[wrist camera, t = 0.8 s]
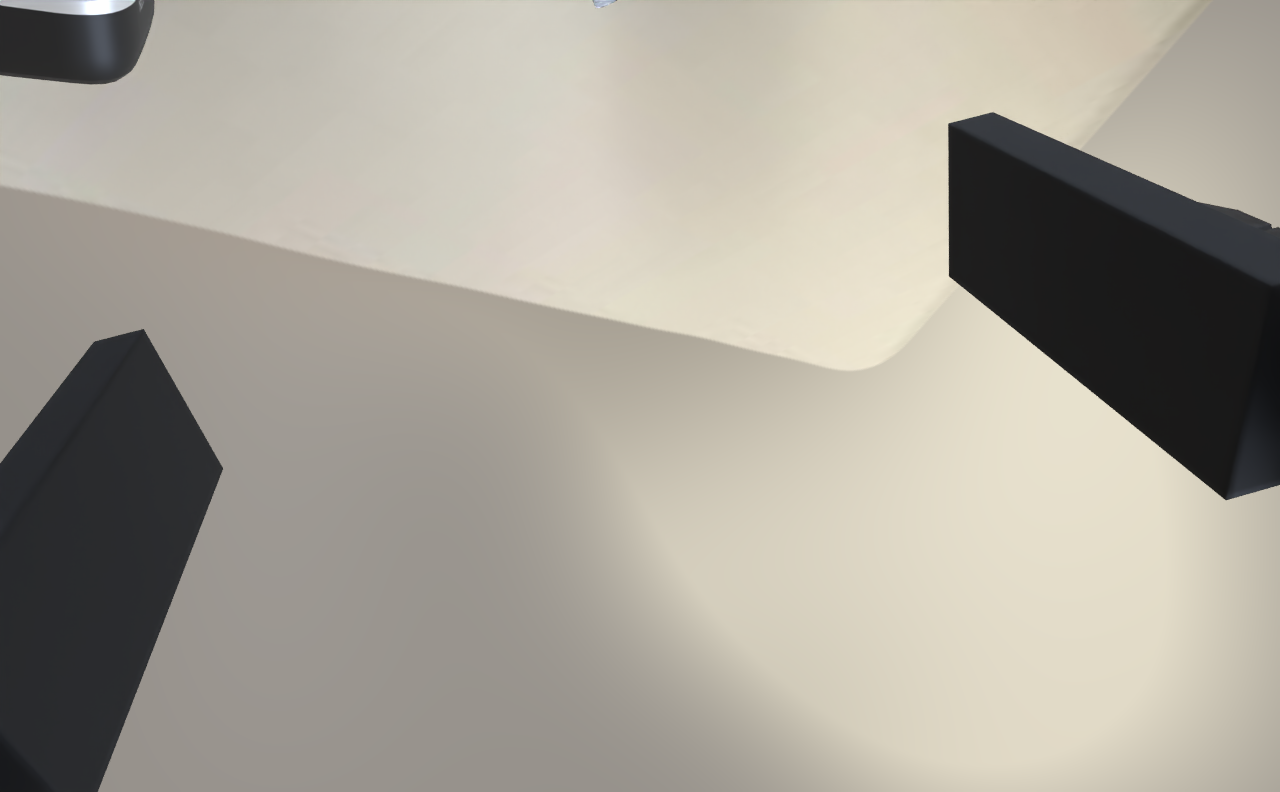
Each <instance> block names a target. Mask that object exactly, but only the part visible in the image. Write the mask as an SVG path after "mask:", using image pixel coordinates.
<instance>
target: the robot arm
mask: <svg viewBox="0 0 1280 792" xmlns="http://www.w3.org/2000/svg"><path fill="white" fill-rule="evenodd" d="M948 142H949V277H951V278H952V279H953V280H954V281H956V282H957V283H958V284H959V285H960V286H962V287H963V288H964V289H966V290H967V291H968V292H969V293H970V294H972V295H973V296H974V297H975V298H977V299H978V300H979V301H980V302H981V303H983V304H984V305H985V306H987V307H988V308H989V309H990V310H991V311H993V312H994V313H995V314H996V315H998V316H999V317H1000V318H1001V319H1003V320H1004V321H1005V322H1006V323H1008V324H1009V325H1010V326H1011V327H1012V328H1014V329H1015V330H1016V331H1017V332H1019V333H1020V334H1021V335H1022V336H1024V337H1025V338H1026V339H1027V340H1029V341H1030V342H1031V343H1032V344H1033V345H1035V346H1036V347H1037V348H1038V349H1040V350H1041V351H1042V352H1043V353H1045V354H1046V355H1047V356H1048V357H1050V358H1051V359H1052V360H1053V361H1054V362H1056V363H1057V364H1058V365H1059V366H1061V367H1062V368H1063V369H1064V370H1066V371H1067V372H1068V373H1069V374H1071V375H1072V376H1073V377H1074V378H1075V379H1077V380H1078V381H1079V382H1080V383H1082V384H1083V385H1084V386H1086V387H1087V388H1088V389H1089V390H1091V392H1093V393H1094V394H1095V395H1096V396H1098V397H1099V398H1100V399H1101V400H1103V401H1104V402H1105V403H1106V404H1108V405H1109V406H1110V407H1111V408H1113V409H1114V410H1115V411H1116V412H1118V413H1119V414H1120V415H1121V416H1123V417H1124V418H1125V419H1126V420H1128V421H1129V422H1130V423H1131V424H1132V425H1134V426H1135V427H1136V428H1137V429H1139V430H1140V431H1141V432H1142V433H1143V434H1145V435H1146V436H1147V437H1148V438H1150V439H1151V440H1152V441H1153V442H1155V443H1156V444H1157V445H1158V446H1159V447H1161V448H1162V449H1163V450H1164V451H1166V452H1167V453H1168V454H1169V455H1171V456H1172V457H1173V458H1174V459H1176V460H1177V461H1178V462H1179V463H1181V464H1182V465H1183V466H1184V467H1186V468H1187V469H1188V470H1189V471H1190V472H1192V473H1193V474H1194V475H1195V476H1197V477H1198V478H1199V479H1200V480H1201V481H1203V482H1204V483H1205V484H1206V485H1208V486H1209V487H1210V488H1212V489H1213V490H1214V491H1215V492H1216V493H1218V494H1219V495H1220V496H1221V497H1223V498H1224V499H1225V500H1228V499H1232V498H1235V497H1239V496H1242V495H1246V494H1250V493H1253V492H1257V491H1260V490H1264V489H1267V488H1270V487H1274V486H1278V485H1280V228H1279V227H1277V228H1273V229H1272V227H1271V224H1269V223H1267V222H1265V221H1262V220H1260V219H1258V218H1255V217H1253V216H1250V215H1248V214H1246V213H1243V212H1241V211H1239V210H1235V209H1229V208H1224V207H1220V206H1214V205H1210V204H1204V203H1199V202H1196V201H1194V200H1191V199H1189V198H1187V197H1185V196H1182V195H1180V194H1178V193H1176V192H1173V191H1171V190H1169V189H1167V188H1164V187H1162V186H1160V185H1157V184H1155V183H1153V182H1150V181H1148V180H1146V179H1144V178H1141V177H1139V176H1137V175H1135V174H1132V173H1130V172H1128V171H1126V170H1123V169H1121V168H1119V167H1116V166H1114V165H1112V164H1109V163H1107V162H1105V161H1103V160H1100V159H1098V158H1096V157H1093V156H1091V155H1089V154H1087V153H1085V152H1082V151H1080V150H1078V149H1075V148H1073V147H1071V146H1069V145H1066V144H1064V143H1062V142H1060V141H1057V140H1055V139H1053V138H1050V137H1048V136H1046V135H1044V134H1041V133H1039V132H1037V131H1034V130H1032V129H1030V128H1028V127H1025V126H1023V125H1021V124H1019V123H1016V122H1014V121H1012V120H1009V119H1007V118H1005V117H1003V116H1000V115H998V114H996V113H993V112H992V113H988V114H984V115H980V116H976V117H973V118H969V119H965V120H961V121H957V122H953V123H949V124H948ZM222 470H223V467H222V466H221V464H220V462H219V461H218V459H217V457H216V455H215V454H214V452H213V450H212V448H211V447H210V445H209V443H208V441H207V439H206V438H205V436H204V434H203V433H202V431H201V429H200V427H199V425H198V424H197V422H196V420H195V418H194V417H193V415H192V413H191V411H190V410H189V408H188V406H187V404H186V403H185V401H184V399H183V397H182V396H181V394H180V392H179V390H178V389H177V387H176V385H175V383H174V381H173V380H172V378H171V376H170V375H169V373H168V371H167V369H166V368H165V366H164V364H163V362H162V360H161V359H160V357H159V355H158V353H157V352H156V350H155V348H154V346H153V345H152V343H151V341H150V339H149V338H148V336H147V334H146V332H145V331H144V329H142V330H139V331H135V332H130V333H126V334H123V335H118V336H115V337H111V338H107V339H103V340H99V341H95V342H94V343H93V344H92V345H91V346H90V348H89V349H88V350H87V352H86V353H85V354H84V356H83V357H82V358H81V359H80V361H79V362H78V364H77V365H76V366H75V367H74V369H73V370H72V371H71V372H70V374H69V375H68V376H67V378H66V379H65V380H64V382H63V383H62V384H61V385H60V387H59V388H58V389H57V391H56V392H55V393H54V394H53V396H52V397H51V398H50V400H49V401H48V402H47V404H46V405H45V406H44V407H43V409H42V410H41V412H40V413H39V414H38V416H37V417H36V418H35V419H34V421H33V422H32V423H31V424H30V426H29V427H28V428H27V430H26V431H25V432H24V434H23V435H22V436H21V437H20V439H19V440H18V441H17V443H16V444H15V445H14V446H13V448H12V449H11V450H10V452H9V453H8V454H7V456H6V457H5V458H4V460H3V461H2V462H1V463H0V792H98V789H99V787H100V784H101V782H102V779H103V777H104V774H105V771H106V769H107V766H108V764H109V761H110V759H111V756H112V753H113V751H114V748H115V746H116V743H117V741H118V738H119V736H120V733H121V730H122V727H123V725H124V723H125V720H126V717H127V715H128V712H129V710H130V707H131V705H132V702H133V699H134V697H135V694H136V692H137V689H138V687H139V684H140V681H141V679H142V676H143V674H144V671H145V669H146V666H147V663H148V660H149V658H150V656H151V653H152V651H153V648H154V645H155V643H156V640H157V638H158V635H159V632H160V630H161V627H162V625H163V622H164V619H165V617H166V614H167V612H168V609H169V607H170V604H171V602H172V599H173V596H174V594H175V591H176V589H177V586H178V584H179V581H180V578H181V576H182V573H183V571H184V568H185V565H186V563H187V560H188V557H189V555H190V553H191V550H192V547H193V545H194V542H195V540H196V537H197V535H198V532H199V529H200V527H201V524H202V522H203V519H204V516H205V514H206V511H207V509H208V506H209V504H210V501H211V499H212V496H213V493H214V491H215V488H216V486H217V483H218V480H219V478H220V475H221V473H222Z"/></svg>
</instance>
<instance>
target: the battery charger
mask: <svg viewBox="0 0 1280 792" xmlns="http://www.w3.org/2000/svg"><path fill="white" fill-rule="evenodd" d="M153 15H154V0H0V75H4V76H13V77H22V78H32V79H41V80H50V81H59V82H68V83H79V84H106V83H110V82H115V81H117V80H119V79H120V78H122V77H124V76H125V75H127V74H128V73H129V72H131V70H132V69H133V68H134V66H135V65H136V63H137V61H138V59H139V57H140V54H141V52H142V49H143V47H144V44H145V42H146V39H147V36H148V33H149V30H150V27H151V23H152V19H153Z"/></svg>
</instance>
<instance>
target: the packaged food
mask: <svg viewBox="0 0 1280 792" xmlns="http://www.w3.org/2000/svg"><path fill="white" fill-rule="evenodd" d="M615 1H617V0H593V2H594V5H595V6H596V8H599V7H605V6H607V5H609V4H611V3H613V2H615Z"/></svg>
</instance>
